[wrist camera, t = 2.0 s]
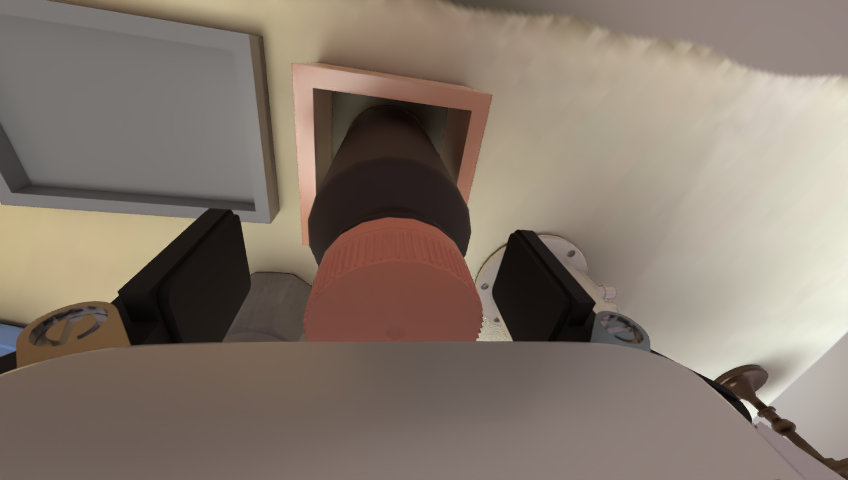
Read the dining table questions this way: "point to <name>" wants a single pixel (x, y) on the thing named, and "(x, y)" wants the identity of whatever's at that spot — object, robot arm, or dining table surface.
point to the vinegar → (390, 241)
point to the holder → (322, 79)
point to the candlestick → (772, 411)
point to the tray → (132, 114)
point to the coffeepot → (271, 310)
